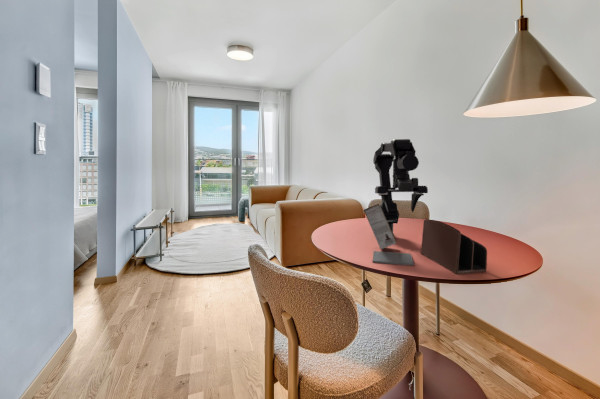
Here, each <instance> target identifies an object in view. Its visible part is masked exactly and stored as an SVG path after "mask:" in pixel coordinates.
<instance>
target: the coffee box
mask: <svg viewBox="0 0 600 399" xmlns="http://www.w3.org/2000/svg"><path fill="white" fill-rule="evenodd" d="M380 205H381V204H379V203H377V204H375V205H373V206H369V207H368V208H367V207H366V208H364V209H363V212H364V214H365V217H366V219H367V221H368V224H369V226H370V228H371V230H372V233H373V235H374V238H375V240H376V242H377V244H378V247H379V249H380V250H383V249H385V248H388V247H391V246H393V245H396V244H397V241H396V239H395V235H394V236H393V234H392V231H391V229H390V227H389V224H388V222H387V220H386V218H385V215H384V213H383V211H382V209H381V207H380Z"/></svg>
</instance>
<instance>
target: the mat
mask: <svg viewBox="0 0 600 399" xmlns="http://www.w3.org/2000/svg"><path fill="white" fill-rule="evenodd" d="M373 263H375V264H388V265H399V266H412V267H413V266H414V264H415V263H414V260H413V257H412V254H411V253H408V252H393V251H392V252H391V251H377V250H376V251H375V250H373V254H372V264H373Z"/></svg>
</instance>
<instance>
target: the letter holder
mask: <svg viewBox="0 0 600 399" xmlns="http://www.w3.org/2000/svg"><path fill="white" fill-rule="evenodd" d="M420 254H421V255H423V256H424V257H426V258H428V259H430V260H431V261H433V262H435V263H436V264H438V265H439V266H442V267H443V268H445V269H447V270H449V271H450V272H452V273H453V274H455V275H466V274H480V273H481V274H483V273H485V274H486V273H487V266H488V264H487V262H488V250H487V248H486V246H484V245H483V244H481V243H480V242H477V241H475V240H474V239H472V238H471V237H468V236H467V235H465V234H463V233H461V231H460V230H459V229H457V228H455V227H454V226H451V225H450V224H447V223H445V222H443V221H440V220H434V219H426V218H425V219H423V227H422V238H421V251H420Z"/></svg>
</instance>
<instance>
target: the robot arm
mask: <svg viewBox="0 0 600 399" xmlns="http://www.w3.org/2000/svg"><path fill="white" fill-rule="evenodd" d="M385 152H387V153H385ZM388 152H389V153H388ZM372 162H373V164H374V169H375V170H376V171H377V173H378V175H379V185H377V186H376V187H375V188H374V194H378V196H380V197H381V203H380V204H379V205H380V207H381V209H382V211H383V213H384V215H385V218H386V220H387V222H388V224H389V227H390V229H391V231H392V234H393V236H394V237H395V233H394V224H398V222H399V218H400V212H399V210H398V204H397V202H394V201H393V193H411V204H410V205H411V206H410V210H411V212H412V213H414V212H415V208H416V206H417V204H418V201H419V199H420V198H421V197H422V196H424V195H425V194H428V192H429V191H428V186H427V185H419V178H418V177H411V178H410V173H409V172H410V171H415V170H416V169H417V168H418V167H419V163H420V161H419V158H418V157H417V156H416V149H415V147H414V145H413V142H411V139H409V138H405V139H401V138H400V139H396V138H395V139H391V141H390V142H383V143H381V144H380V147H379V148H378V149H377V150H376V151H375V152H374V155H373V159H372ZM391 168H392V171H393V172H392V184H391V176H390V170H391Z"/></svg>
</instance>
